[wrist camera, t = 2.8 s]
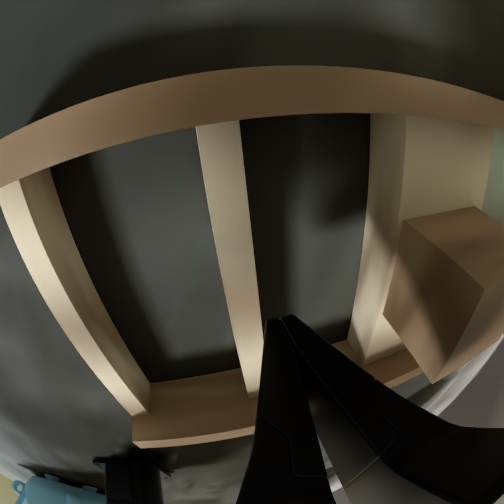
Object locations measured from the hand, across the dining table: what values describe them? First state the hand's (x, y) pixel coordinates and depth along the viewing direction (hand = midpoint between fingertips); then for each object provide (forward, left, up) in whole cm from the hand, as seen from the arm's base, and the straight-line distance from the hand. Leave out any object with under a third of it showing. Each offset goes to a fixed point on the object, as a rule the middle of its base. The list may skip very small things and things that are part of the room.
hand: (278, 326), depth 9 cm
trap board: (0, -5, -3) cm, 6 cm away
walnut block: (0, -7, -1) cm, 7 cm away
